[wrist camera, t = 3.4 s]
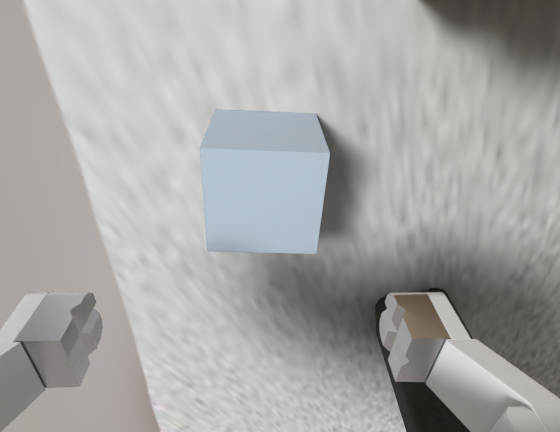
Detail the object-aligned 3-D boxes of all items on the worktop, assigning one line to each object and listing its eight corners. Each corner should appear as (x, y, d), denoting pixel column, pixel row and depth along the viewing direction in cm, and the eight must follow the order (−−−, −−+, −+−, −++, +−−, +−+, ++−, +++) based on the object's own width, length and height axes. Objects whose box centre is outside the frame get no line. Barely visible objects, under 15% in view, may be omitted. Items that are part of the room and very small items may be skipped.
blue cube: (306, 198, 21) (316, 254, 17) (219, 196, 21) (207, 251, 17) (315, 113, 18) (330, 153, 14) (215, 108, 18) (200, 148, 14)
